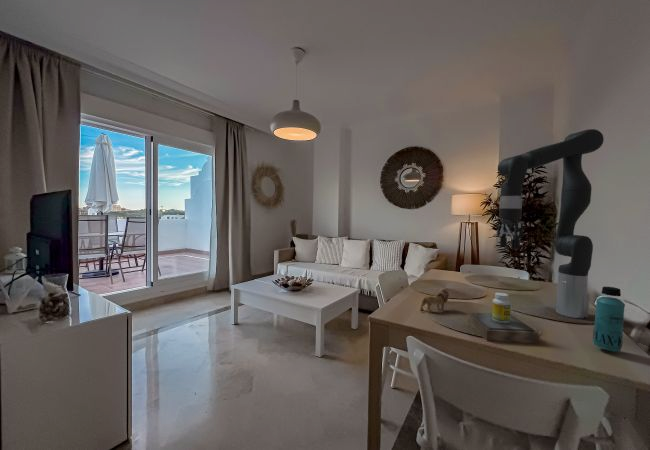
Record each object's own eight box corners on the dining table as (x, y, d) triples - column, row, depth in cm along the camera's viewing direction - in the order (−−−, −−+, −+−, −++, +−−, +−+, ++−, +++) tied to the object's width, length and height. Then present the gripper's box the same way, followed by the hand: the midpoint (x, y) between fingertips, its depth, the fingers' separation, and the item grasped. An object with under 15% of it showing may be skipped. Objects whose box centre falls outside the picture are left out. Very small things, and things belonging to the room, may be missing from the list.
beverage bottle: (586, 346, 90) (590, 284, 89) (605, 345, 91) (609, 284, 90) (608, 357, 84) (612, 290, 83) (628, 356, 85) (633, 290, 83)
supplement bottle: (496, 316, 104) (497, 291, 104) (512, 321, 100) (513, 294, 99) (489, 319, 102) (489, 293, 101) (505, 324, 97) (506, 297, 97)
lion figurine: (442, 306, 127) (442, 286, 127) (451, 310, 122) (452, 289, 122) (416, 310, 122) (416, 290, 121) (424, 314, 117) (425, 293, 116)
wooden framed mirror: (511, 323, 108) (511, 313, 108) (538, 343, 92) (538, 331, 92) (467, 321, 110) (467, 311, 110) (486, 340, 94) (487, 328, 94)
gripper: (531, 207, 106) (529, 250, 107) (510, 207, 120) (508, 245, 121) (510, 207, 107) (508, 250, 108) (491, 207, 121) (490, 245, 122)
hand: (508, 247), depth 114 cm, fingers open, 8 cm apart
